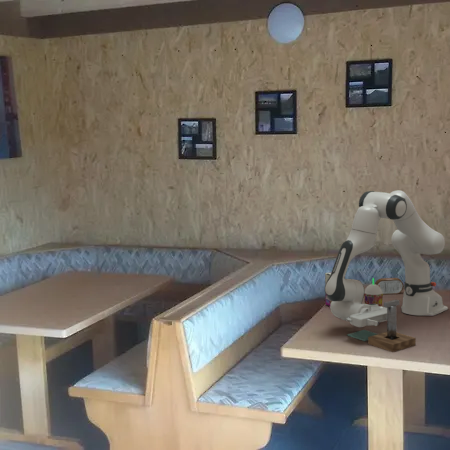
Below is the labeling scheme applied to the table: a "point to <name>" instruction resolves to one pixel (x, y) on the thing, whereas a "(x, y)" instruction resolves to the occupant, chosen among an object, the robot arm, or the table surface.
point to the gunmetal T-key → (391, 318)
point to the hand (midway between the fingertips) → (386, 321)
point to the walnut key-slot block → (392, 341)
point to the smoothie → (373, 294)
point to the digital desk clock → (390, 285)
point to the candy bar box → (328, 301)
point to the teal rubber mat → (362, 335)
